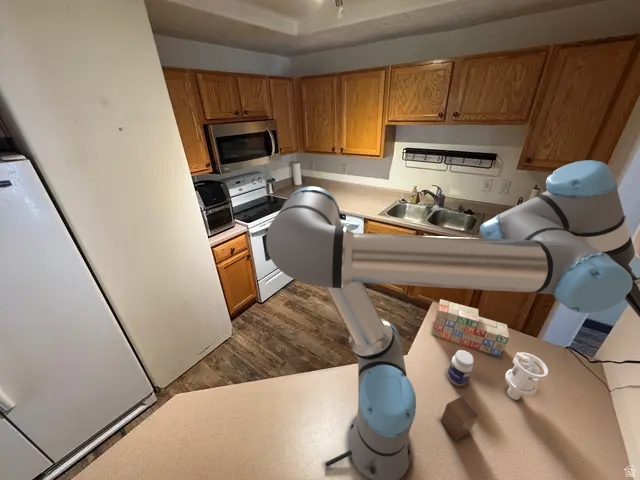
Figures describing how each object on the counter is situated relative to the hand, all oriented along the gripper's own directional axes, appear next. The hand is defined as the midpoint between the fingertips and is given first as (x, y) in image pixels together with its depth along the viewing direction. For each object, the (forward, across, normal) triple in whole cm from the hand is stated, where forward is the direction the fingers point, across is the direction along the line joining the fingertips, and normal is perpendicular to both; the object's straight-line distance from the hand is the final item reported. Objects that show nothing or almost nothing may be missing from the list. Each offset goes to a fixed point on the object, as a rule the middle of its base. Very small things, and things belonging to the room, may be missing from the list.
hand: (624, 315), depth 53 cm
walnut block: (+13, -7, +43) cm, 46 cm away
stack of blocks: (+20, +23, +33) cm, 45 cm away
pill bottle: (+16, +7, +39) cm, 43 cm away
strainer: (+24, +4, +28) cm, 37 cm away
